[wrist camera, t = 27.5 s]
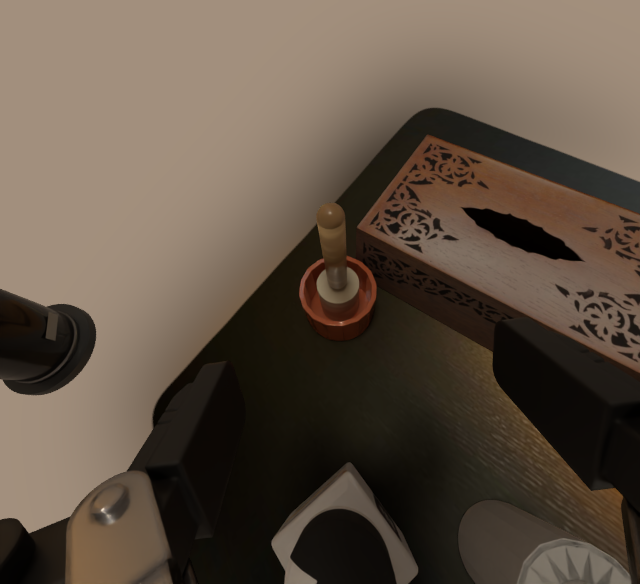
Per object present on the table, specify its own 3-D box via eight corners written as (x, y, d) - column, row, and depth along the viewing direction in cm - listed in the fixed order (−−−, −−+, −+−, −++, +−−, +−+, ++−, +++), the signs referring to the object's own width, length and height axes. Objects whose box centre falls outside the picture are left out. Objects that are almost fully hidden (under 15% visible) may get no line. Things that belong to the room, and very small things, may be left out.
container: (349, 459, 31) (347, 481, 19) (404, 536, 28) (442, 616, 16) (288, 515, 30) (245, 575, 18) (339, 601, 27) (328, 740, 15)
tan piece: (328, 327, 36) (308, 244, 20) (317, 294, 38) (289, 194, 22) (364, 314, 36) (372, 222, 20) (350, 283, 38) (348, 175, 22)
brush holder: (318, 350, 36) (311, 336, 30) (299, 290, 39) (291, 268, 34) (383, 328, 36) (388, 311, 31) (359, 271, 39) (360, 246, 34)
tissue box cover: (355, 273, 39) (356, 227, 30) (411, 196, 43) (427, 134, 34) (569, 395, 31) (658, 382, 22) (614, 287, 35) (705, 238, 26)
